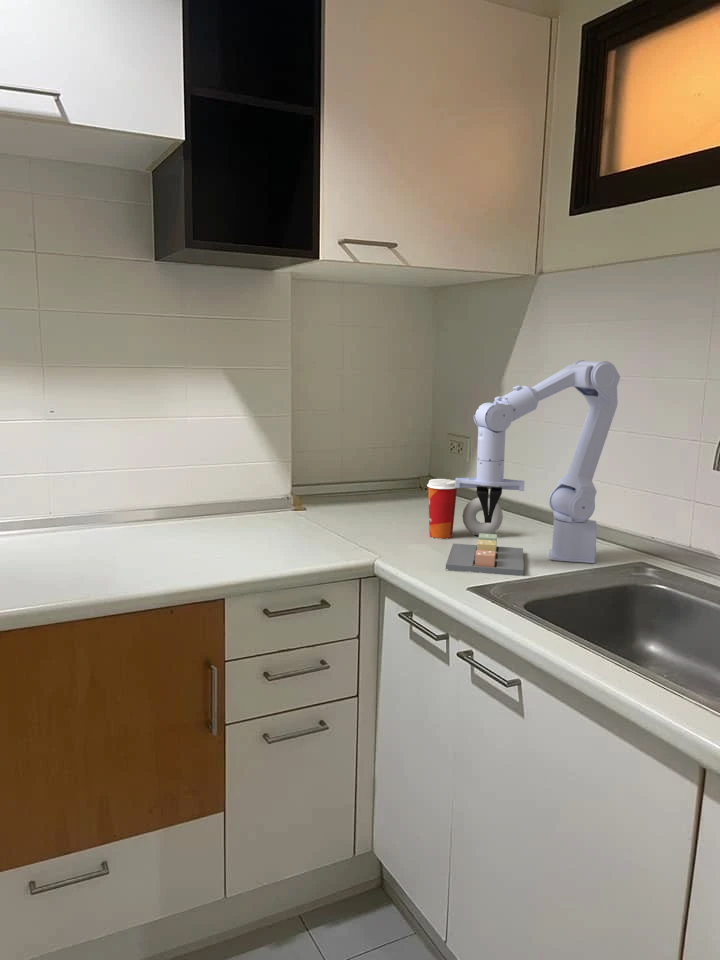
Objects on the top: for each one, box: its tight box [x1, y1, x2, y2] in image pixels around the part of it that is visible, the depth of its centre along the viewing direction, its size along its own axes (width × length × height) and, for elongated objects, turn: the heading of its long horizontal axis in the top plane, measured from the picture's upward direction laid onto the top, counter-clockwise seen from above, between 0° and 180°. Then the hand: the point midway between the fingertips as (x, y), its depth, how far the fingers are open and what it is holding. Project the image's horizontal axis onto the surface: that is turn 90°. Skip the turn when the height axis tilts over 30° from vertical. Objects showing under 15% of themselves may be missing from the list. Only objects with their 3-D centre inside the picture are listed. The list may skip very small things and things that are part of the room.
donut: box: [461, 497, 504, 537], centre depth 186 cm, size 10×3×10 cm, turn 84°
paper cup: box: [426, 478, 458, 540], centre depth 185 cm, size 8×8×14 cm
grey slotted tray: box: [445, 543, 524, 577], centre depth 164 cm, size 16×18×1 cm
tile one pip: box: [477, 533, 498, 546], centre depth 170 cm, size 4×4×3 cm
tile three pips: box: [474, 550, 496, 567], centre depth 158 cm, size 4×4×3 cm
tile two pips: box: [476, 539, 497, 556], centre depth 164 cm, size 4×4×3 cm
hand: (488, 521), depth 161 cm, fingers closed
